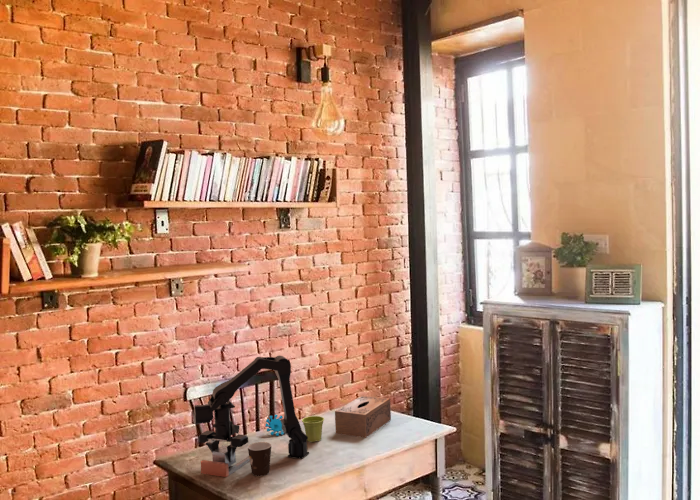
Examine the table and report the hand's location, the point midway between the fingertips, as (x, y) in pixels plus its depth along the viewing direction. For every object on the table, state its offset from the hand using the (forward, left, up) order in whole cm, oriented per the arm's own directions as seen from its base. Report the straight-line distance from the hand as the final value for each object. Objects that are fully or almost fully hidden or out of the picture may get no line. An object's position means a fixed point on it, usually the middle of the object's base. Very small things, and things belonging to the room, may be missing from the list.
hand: (224, 461), depth 247 cm
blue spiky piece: (-1, -40, -3) cm, 41 cm away
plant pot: (-19, -38, -3) cm, 42 cm away
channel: (0, -2, -3) cm, 3 cm away
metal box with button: (0, 0, -1) cm, 1 cm away
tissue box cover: (-33, -60, -3) cm, 68 cm away
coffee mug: (-16, +1, -3) cm, 17 cm away
